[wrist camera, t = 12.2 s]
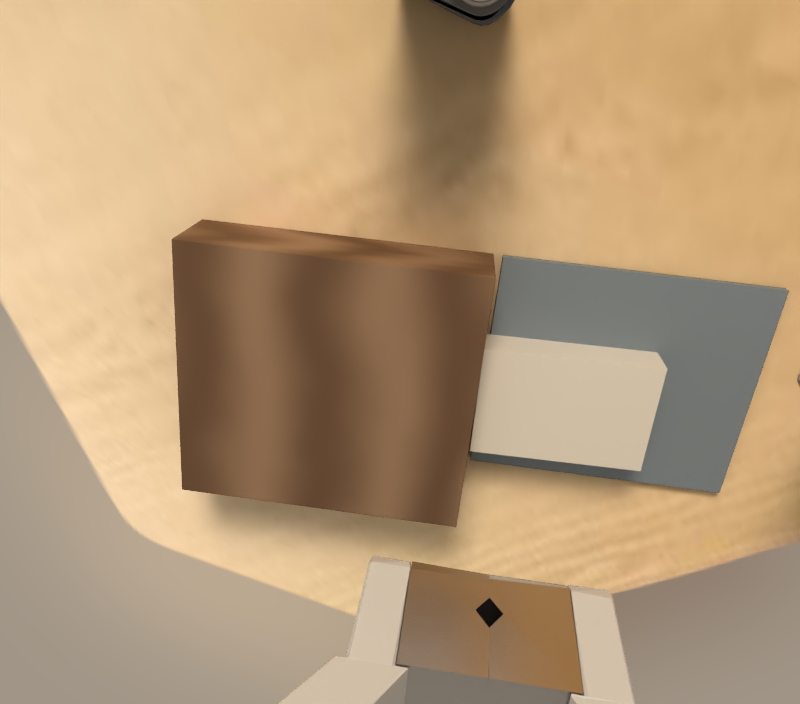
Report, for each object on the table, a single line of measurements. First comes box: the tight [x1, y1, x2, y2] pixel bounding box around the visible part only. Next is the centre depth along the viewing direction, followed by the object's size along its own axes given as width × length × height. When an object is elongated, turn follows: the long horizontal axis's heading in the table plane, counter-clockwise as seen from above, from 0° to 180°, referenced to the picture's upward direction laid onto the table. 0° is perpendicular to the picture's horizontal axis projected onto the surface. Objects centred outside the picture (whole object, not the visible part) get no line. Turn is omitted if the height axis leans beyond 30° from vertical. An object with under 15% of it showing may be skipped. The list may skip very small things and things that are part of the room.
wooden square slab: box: [172, 220, 496, 527], centre depth 36 cm, size 15×14×4 cm
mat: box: [471, 255, 789, 493], centre depth 37 cm, size 14×12×1 cm
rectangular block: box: [470, 334, 667, 471], centre depth 36 cm, size 9×6×2 cm, turn 85°
